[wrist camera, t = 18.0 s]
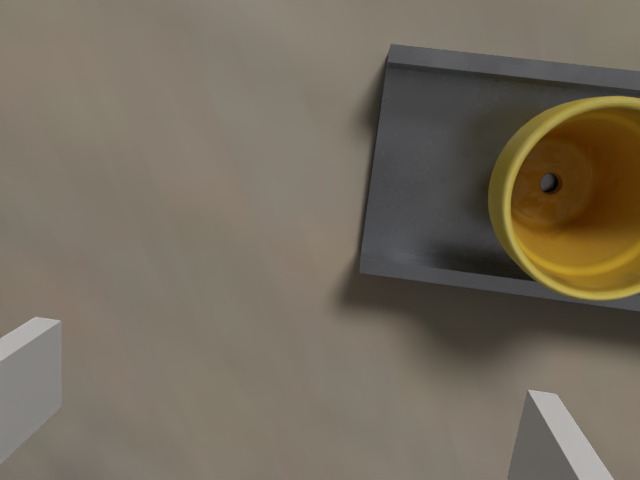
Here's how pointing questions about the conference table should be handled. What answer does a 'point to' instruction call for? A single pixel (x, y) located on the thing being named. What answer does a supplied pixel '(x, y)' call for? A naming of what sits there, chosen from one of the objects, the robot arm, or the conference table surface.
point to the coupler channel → (461, 162)
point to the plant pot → (574, 198)
